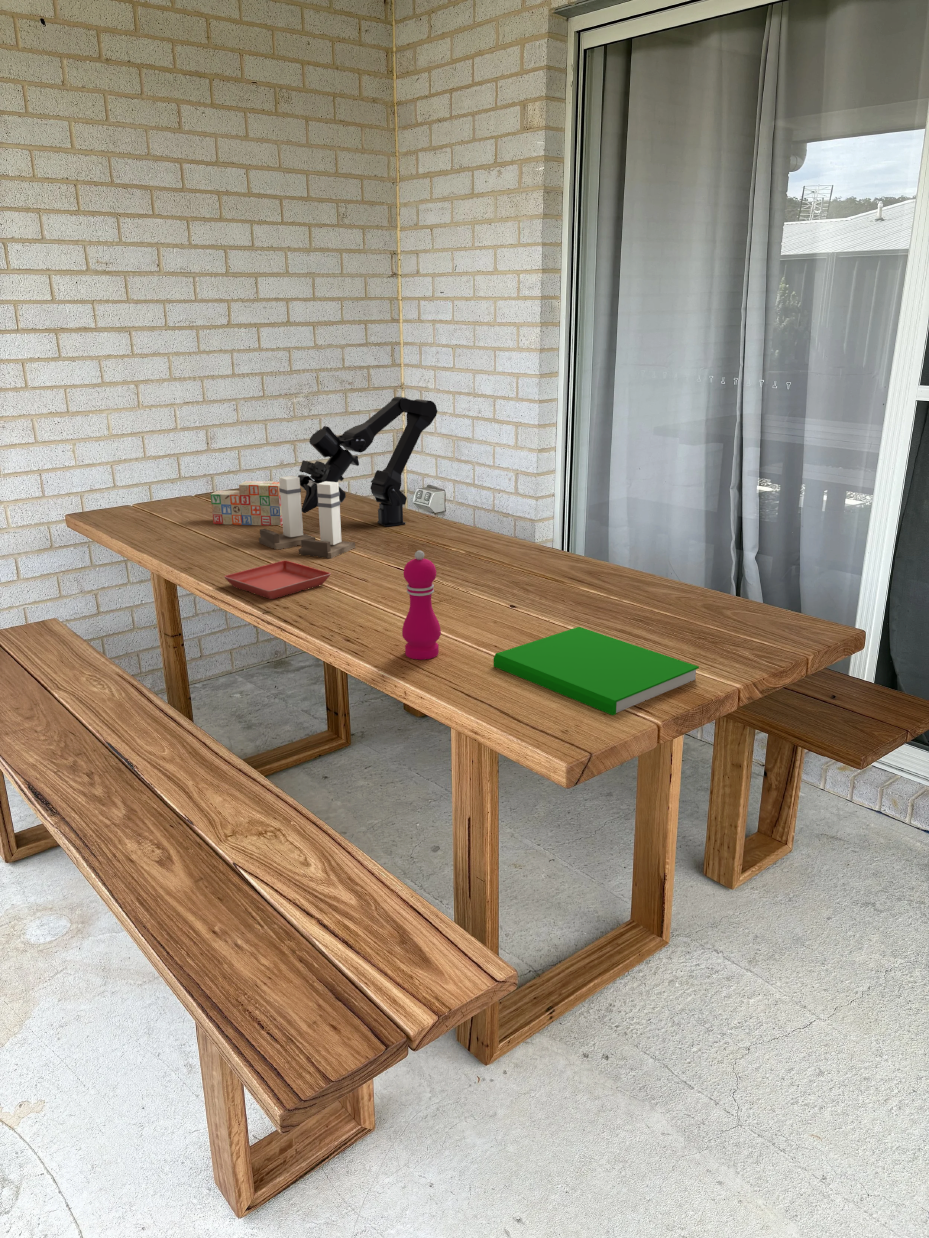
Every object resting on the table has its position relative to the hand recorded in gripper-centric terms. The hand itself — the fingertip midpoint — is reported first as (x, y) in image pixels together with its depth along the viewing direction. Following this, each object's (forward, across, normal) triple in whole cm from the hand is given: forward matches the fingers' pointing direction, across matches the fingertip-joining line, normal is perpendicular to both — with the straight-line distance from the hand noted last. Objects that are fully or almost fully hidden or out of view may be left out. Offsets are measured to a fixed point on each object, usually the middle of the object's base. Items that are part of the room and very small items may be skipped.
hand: (302, 512), depth 259 cm
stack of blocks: (+7, -30, +5) cm, 31 cm away
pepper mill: (+26, +93, -14) cm, 98 cm away
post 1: (+7, 0, +2) cm, 7 cm away
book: (+14, +121, -2) cm, 122 cm away
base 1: (+9, 0, +2) cm, 10 cm away
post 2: (+4, +14, +4) cm, 16 cm away
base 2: (+7, +15, +4) cm, 17 cm away
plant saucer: (+26, +36, -13) cm, 46 cm away
